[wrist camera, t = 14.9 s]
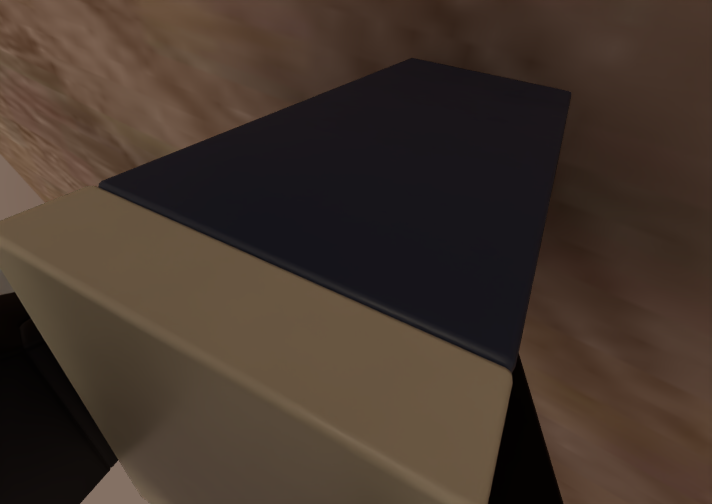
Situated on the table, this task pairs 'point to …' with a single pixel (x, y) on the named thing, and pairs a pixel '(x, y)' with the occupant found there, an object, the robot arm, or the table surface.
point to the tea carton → (307, 293)
